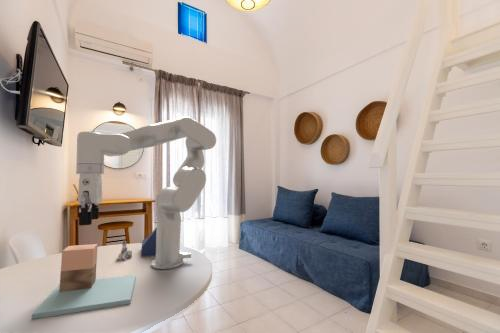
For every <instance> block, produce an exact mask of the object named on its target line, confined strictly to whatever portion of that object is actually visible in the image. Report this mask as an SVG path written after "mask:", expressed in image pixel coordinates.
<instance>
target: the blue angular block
mask: <svg viewBox="0 0 500 333" xmlns="http://www.w3.org/2000/svg"><path fill="white" fill-rule="evenodd" d="M156 233H157V226H156V227H155V228H154V229H153V231H152V232H150V234H149V235H148V236H147V237H146V238H144V239H143V240H142V242H141V255H140V257H149V256H156Z"/></svg>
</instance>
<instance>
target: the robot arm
mask: <svg viewBox="0 0 500 333" xmlns="http://www.w3.org/2000/svg"><path fill="white" fill-rule="evenodd" d="M183 138H185V146H186V147H185V148H186V151H187V156H186V158H185V160H184V161H183V162H182V164H181V165H180V166H179V168H178V169H177V171H176V172H175V173H174V175H173V177H172V182H173V184H174V186H175V187H171V186H170V187H164V188H161V189H160V190H159V191H158V192H157V194H156V195H155V208H156V227H157V233H156V255H155V258H154V259H153V260H152V261H151V262H150V267H152V268H153V269H157V270H168V269H169V270H170V269H174V268H178V267H180V266H182V265H183V264H184V259H191V258H192V253H191V252H189V253H188V252H186V251H185V252H182V251H181V231H182V230H181V229H182V228H181V227H182V218H181V213H185V212H187V211H189V210H190V209H191V208H192V206H193V205H194V204H195V202H196V200H197V199H198V197H199V196H200V194H201V193H202V191H203V190H204V187H205V186H206V183H207V176H206V173H205V171H204V170H203V167H204V165H205V156H204V152H203V151H205V150H211V149H213V148H214V147H215V146H216V144H217V137H216V134H215V133H214V132H213V131H212V130H211V129H210V128H208V127H206V126H205V125H204V124H202V123H200V122H199V121H197V120H195V119H194V118H192V117H189V116H181V117H178V118H174V119H170V120H166V121H162V122H157V123H152V124H148V125H145V126H141V127H138V128H136V129H133V130H130V131H125V132H122V133H101V132H96V131H95V132H94V131H81V132H78V133H77V136H76V168H75V169H76V170H75V171H76V172H75V174H76V175H79V178H78V190H77V191H78V192H77V195H78V198H77V199H78V200H77V201H78V202H77V203H78V204H79V210H78V225H79V227H80V226H81V227H82V226H90V225H92V224H93V223H92V222H93V220H99V215H100V214H99V213H100V211H99V210H100V208H99V204H101V203H102V202H103V180H102V175H104V174H105V157H106V156H107V157H118V156H124V155H126V154H128V153H129V152H132V151H135V150H140V149H147V148H152V147H157V146H160V145H163V144H167V143H170V142H173V141H176V140H180V139H183Z"/></svg>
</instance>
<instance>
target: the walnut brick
mask: <svg viewBox="0 0 500 333" xmlns="http://www.w3.org/2000/svg"><path fill="white" fill-rule="evenodd" d="M97 263H98V262H96V264H95V265H94V267H93V268H90V269H80V270H70V271H61V270H60V279H59V284H60V290H59V292H65V291H73V290H80V289H88V288H92V286H93V284H94V282H95V281H96V277H97Z"/></svg>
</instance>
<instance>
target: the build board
mask: <svg viewBox="0 0 500 333" xmlns="http://www.w3.org/2000/svg"><path fill="white" fill-rule="evenodd" d="M136 279H137V274H130V275H122V276H115V277H114V276H113V277H108V278H107V277H105V278H104V277H103V278H97V279H96V281H95V282H94V284H93V286H92V288H88V289H80V290H73V291H65V292H59V290H60V283H59V284H58V285H57V286H56V287H55V288H54V289H53V290H52V291H51V293H50V294H48V296H47V297H46V298H45V299H44V300H43V301H42V303H40V305H39V306H38V307H37V308H36V309H35V310H33V312H32V313H31V320H35V319H39V318H40V319H41V318H46V317H53V316H59V315H67V314H73V313H78V312H80V313H81V312H86V311H92V310H99V309H105V308H111V307H116V306H117V307H118V306H123V305H124V306H125V305H130V304H131V303H132V302H131V301H132V297H133V293H134V289H135V284H136Z"/></svg>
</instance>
